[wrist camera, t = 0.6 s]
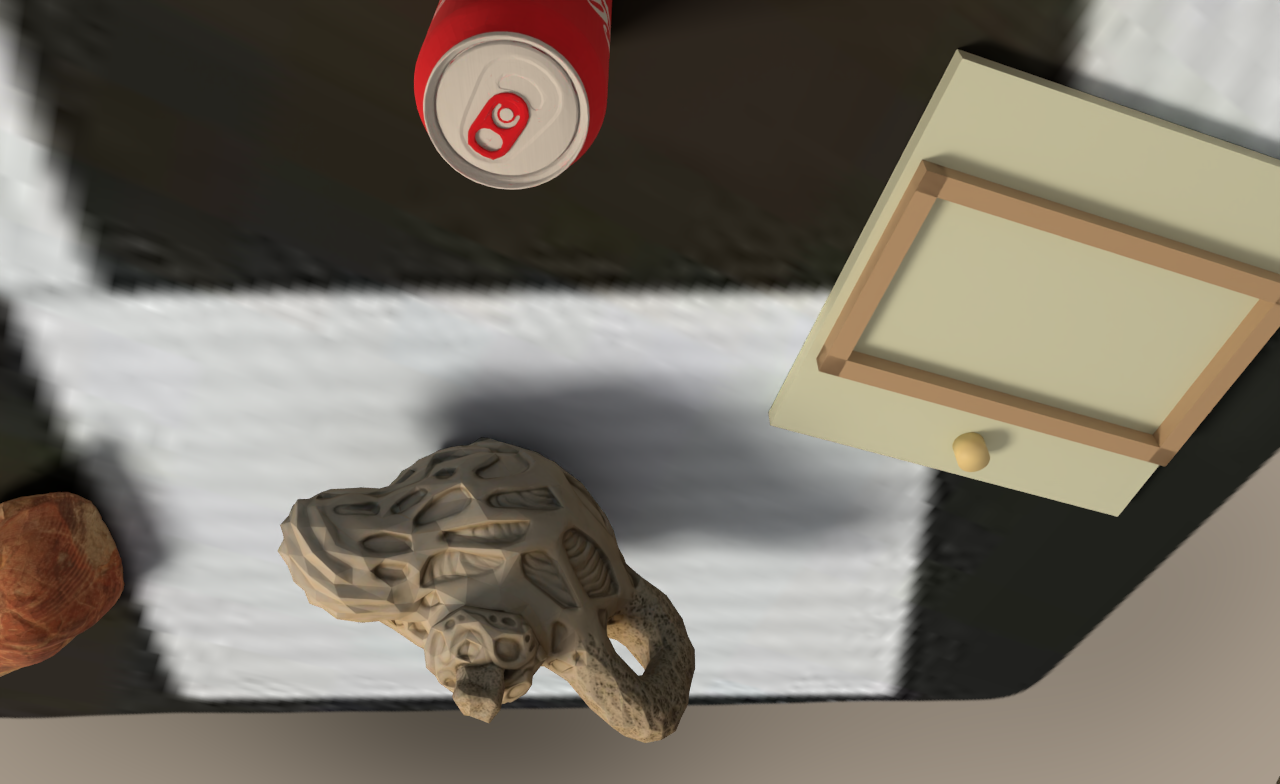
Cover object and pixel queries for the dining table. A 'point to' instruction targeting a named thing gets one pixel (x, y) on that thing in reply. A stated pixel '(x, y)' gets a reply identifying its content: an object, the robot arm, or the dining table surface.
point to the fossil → (52, 575)
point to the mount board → (1044, 292)
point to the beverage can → (514, 86)
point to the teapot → (497, 583)
